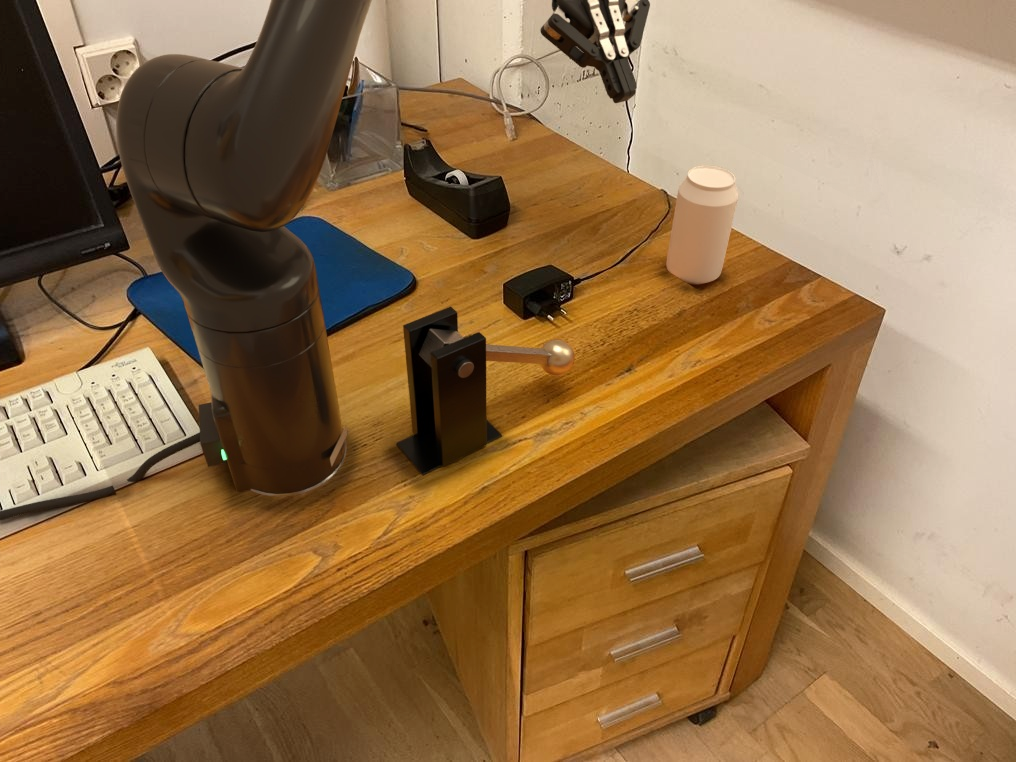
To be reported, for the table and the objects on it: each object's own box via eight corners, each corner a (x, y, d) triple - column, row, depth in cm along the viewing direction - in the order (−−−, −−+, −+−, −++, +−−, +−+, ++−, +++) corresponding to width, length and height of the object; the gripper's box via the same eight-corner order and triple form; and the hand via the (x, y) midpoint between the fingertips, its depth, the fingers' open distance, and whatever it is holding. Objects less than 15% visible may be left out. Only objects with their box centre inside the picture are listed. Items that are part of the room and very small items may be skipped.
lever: (550, 363, 75) (564, 333, 74) (572, 382, 73) (587, 352, 72) (413, 355, 64) (427, 320, 62) (434, 377, 62) (450, 341, 60)
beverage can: (665, 256, 94) (681, 159, 86) (719, 262, 93) (740, 165, 85) (663, 285, 89) (680, 187, 82) (720, 292, 89) (743, 193, 81)
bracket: (469, 411, 74) (466, 295, 65) (507, 449, 70) (509, 332, 62) (392, 447, 70) (378, 329, 62) (428, 490, 67) (419, 371, 58)
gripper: (527, -80, 76) (591, 95, 77) (638, -93, 81) (696, 70, 82) (497, -34, 83) (556, 126, 84) (600, -49, 88) (655, 102, 89)
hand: (625, 98), depth 83 cm, fingers closed
